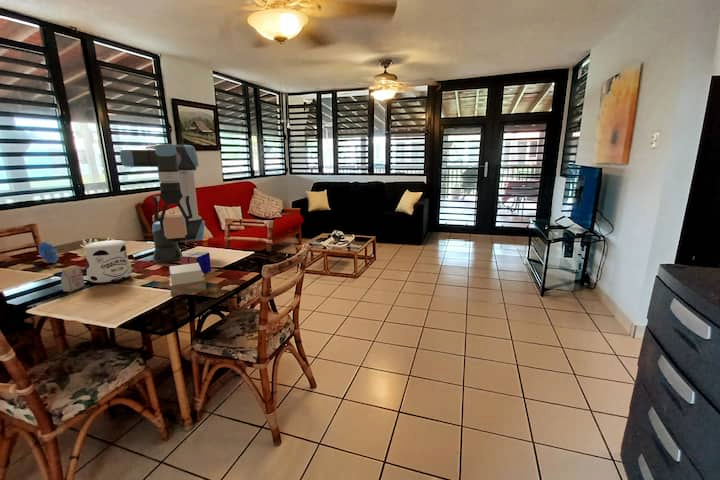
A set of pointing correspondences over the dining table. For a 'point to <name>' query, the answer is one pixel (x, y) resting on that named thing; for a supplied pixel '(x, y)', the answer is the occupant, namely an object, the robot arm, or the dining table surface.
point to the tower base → (188, 287)
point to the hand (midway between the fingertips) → (176, 235)
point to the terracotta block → (174, 226)
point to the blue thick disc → (48, 252)
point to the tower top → (185, 273)
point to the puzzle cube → (197, 260)
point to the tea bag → (72, 279)
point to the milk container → (107, 261)
